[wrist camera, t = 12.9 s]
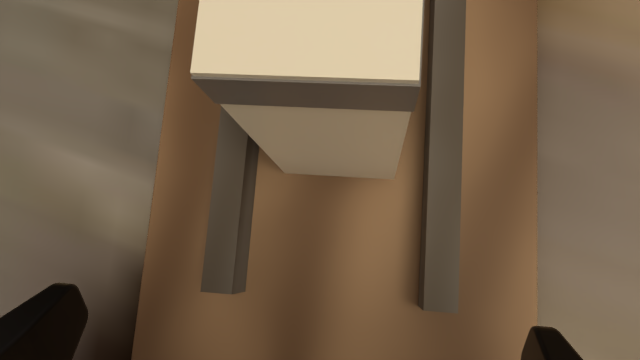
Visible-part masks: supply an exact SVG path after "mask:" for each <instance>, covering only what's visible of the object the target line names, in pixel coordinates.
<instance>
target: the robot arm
mask: <svg viewBox="0 0 640 360" xmlns="http://www.w3.org/2000/svg"><path fill="white" fill-rule="evenodd" d="M87 319H88V310H87V307H86V305H85V302H84V300H83V298H82V296H81V293H80V291H79V289H78V287H77V286H76V285H74V284H67V283H55V284H52V285H51V286H49V287H47V288H46V289H44V290H43V291H41V292H40V293H38V294H37V295H35V296H33V297H32V298H30V299H29V300H27V301H26V302H24V303H23V304H21V305H19V306H18V307H16V308H15V309H13V310H12V311H10V312H9V313H7V314H5V315H4V316H2V317H1V318H0V360H72V358H73V356H74V353H75V351H76V348H77V346H78V343H79V341H80V338H81V336H82V333H83V331H84V328H85V325H86V323H87ZM521 360H583V359H582V358H581V357H580V355H579V354H578V353H577V352H576V351H575V350H574V348H573V347H572V346H571V345H570V344H569V343H568V341H567V340H566V339H565V338H564V337H563V336H562V334H561V333H560V332H559V331H558V330H557V329H555V328H552V327H543V326H533V327H531V328H530V330H529V333H528V336H527V339H526V341H525V344H524V347H523V350H522V353H521Z"/></svg>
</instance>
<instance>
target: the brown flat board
mask: <svg viewBox="0 0 640 360" xmlns="http://www.w3.org/2000/svg"><path fill="white" fill-rule="evenodd" d="M198 7H199V0H179V1H178V9H177V16H176V24H175V32H174V39H173V47H172V54H171V62H170V70H169V77H168V85H167V92H166V100H165V107H164V115H163V123H162V130H161V138H160V145H159V153H158V161H157V168H156V176H155V183H154V191H153V198H152V206H151V214H150V221H149V229H148V236H147V244H146V252H145V259H144V267H143V274H142V282H141V289H140V297H139V305H138V312H137V320H136V327H135V335H134V343H133V350H132V358H131V360H521V353H522V350H523V347H524V344H525V341H526V339H527V336H528V333H529V330H530V328H531V327H533V326H537V0H425V1H424V23H423V46H422V68H421V87H420V91H419V95H418V98H417V102H416V106H415V109H414V112H411V114H410V118H409V122H408V126H407V130H406V134H405V138H404V142H403V146H402V150H401V154H400V158H399V162H398V166H397V170H396V174H395V177H394V179H377V178H359V177H342V176H324V175H307V174H289V173H284V172H283V171H282V170H281V169H280V168H279V167H278V165H277V164H276V163H275V162H274V161H273V160H272V159H271V158H270V157H269V156H268V155H267V154H266V153H265V152H264V151H263V150H262V149H261V147H260V146H259V145H258V144H257V143H256V142H255V141H254V140H253V139H252V138H251V137H250V136H249V135H248V134H247V133H246V132H245V130H244V129H243V128H242V127H241V126H240V125H239V124H238V123H237V122H236V121H235V120H234V119H233V118H232V117H231V116H230V115H229V113H228V112H227V111H226V110H225V109H224V108H223V107H222V106H221V105H220V104H215V103H214V102H213V101H212V100H211V99H210V98H209V97H208V96H207V95H206V94H205V93H204V92H203V91H202V89H201V88H200V87H199V86H198V85H197V84H196V83H195V82H194V81H193V80H192V79H191V75H192V74H191V73H190V70H191V62H192V54H193V46H194V38H195V30H196V23H197V15H198Z"/></svg>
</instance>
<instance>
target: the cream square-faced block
mask: <svg viewBox="0 0 640 360" xmlns="http://www.w3.org/2000/svg"><path fill="white" fill-rule="evenodd" d="M424 1H425V0H199V7H198V15H197V23H196V30H195V38H194V46H193V54H192V62H191V70H190V73H191V74H192V75H191V79H192V80H193V81H194V82H195V83H196V84H197V85H198V86H199V87H200V88H201V89H202V91H203V92H204V93H205V94H206V95H207V96H208V97H209V98H210V99H211V100H212V101H213V102H214V103H215V104H220V105H221V106H222V107H223V108H224V109H225V110H226V111H227V112H228V113H229V115H230V116H231V117H232V118H233V119H234V120H235V121H236V122H237V123H238V124H239V125H240V126H241V127H242V128H243V129H244V130H245V132H246V133H247V134H248V135H249V136H250V137H251V138H252V139H253V140H254V141H255V142H256V143H257V144H258V145H259V146H260V147H261V149H262V150H263V151H264V152H265V153H266V154H267V155H268V156H269V157H270V158H271V159H272V160H273V161H274V162H275V163H276V164H277V165H278V167H279V168H280V169H281V170H282V171H283V172H284V173H289V174H307V175H324V176H342V177H359V178H377V179H394V177H395V174H396V170H397V166H398V162H399V158H400V154H401V150H402V146H403V142H404V138H405V134H406V130H407V126H408V122H409V118H410V114H411V112H414V109H415V106H416V102H417V98H418V95H419V91H420V87H421V68H422V46H423V23H424Z"/></svg>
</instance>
